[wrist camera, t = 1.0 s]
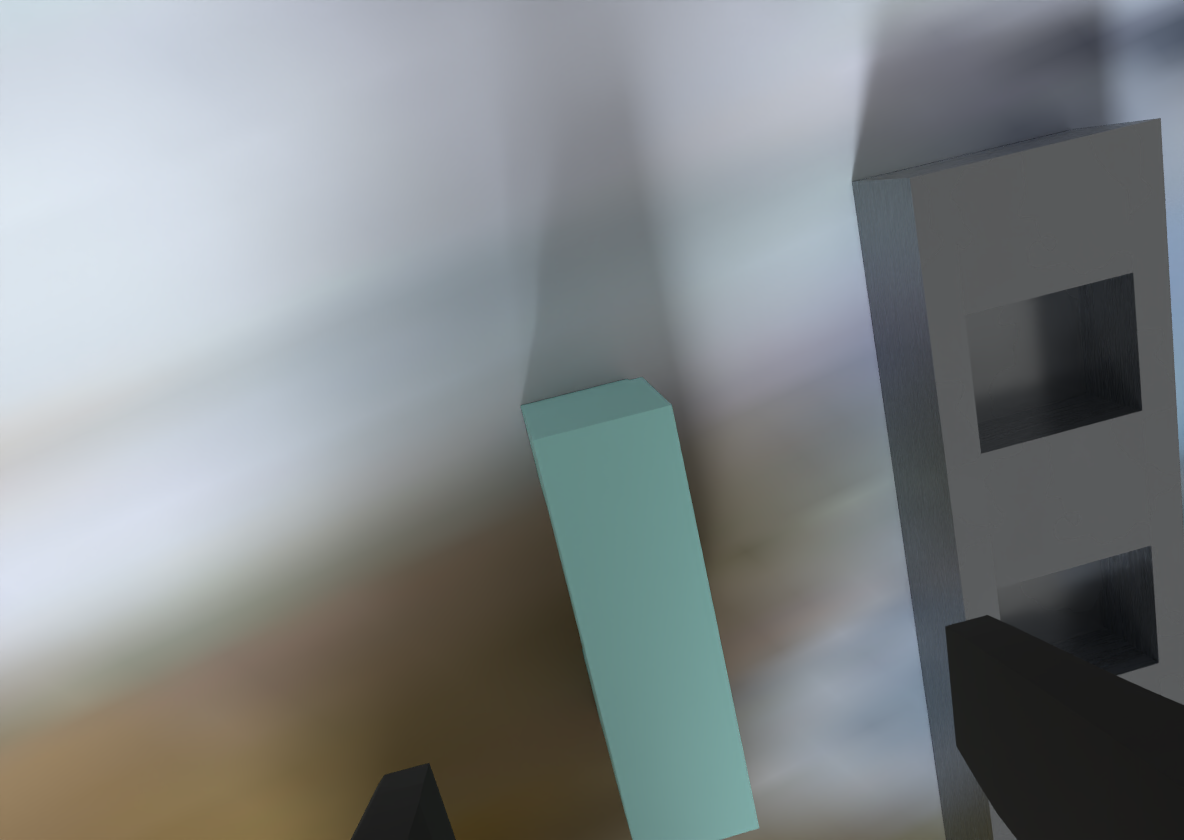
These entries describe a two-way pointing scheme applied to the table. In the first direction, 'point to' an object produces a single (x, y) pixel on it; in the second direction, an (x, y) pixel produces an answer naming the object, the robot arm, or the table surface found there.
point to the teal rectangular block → (643, 608)
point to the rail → (1032, 409)
